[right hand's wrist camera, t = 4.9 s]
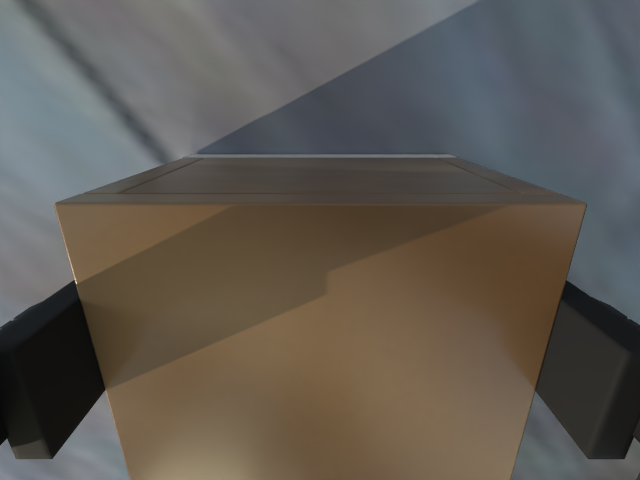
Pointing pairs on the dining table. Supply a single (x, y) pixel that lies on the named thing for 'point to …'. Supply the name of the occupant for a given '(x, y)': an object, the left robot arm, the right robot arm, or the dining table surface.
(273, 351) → the cabinet
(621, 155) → the dining table surface
